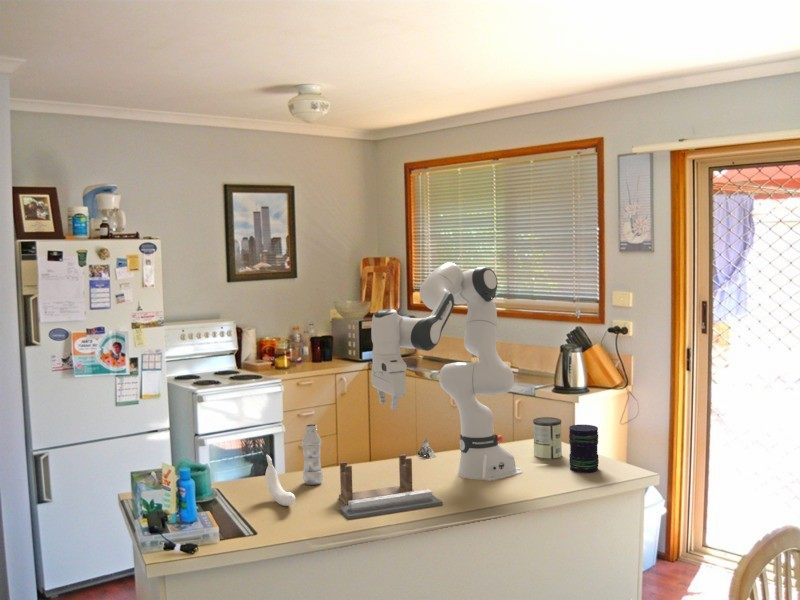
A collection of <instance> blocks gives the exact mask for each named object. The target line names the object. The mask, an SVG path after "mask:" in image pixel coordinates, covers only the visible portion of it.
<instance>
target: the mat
mask: <svg viewBox="0 0 800 600" xmlns="http://www.w3.org/2000/svg"><path fill="white" fill-rule="evenodd" d="M443 503H444V502H443V500H440V499H439V498H438V497H436V496H434V494H432V500H428V501H421V502H414V503H408V504H401V505H395V506H388V507H381V508H375V509H368V510H361V511H355V512H351V511H350V510H349V505H343V506H339V507H338V511H339V512H341V514H342V515H343V516H344V517H345V518H346V519H347V520H355V519H359V518H365V517H366V518H368V517H372V516H379V515H386V514H393V513H398V512H399V513H400V512H405V511H412V510H420V509H423V508H424V509H425V508H431V507H432V508H433V507H437V506H443Z"/></svg>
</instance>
